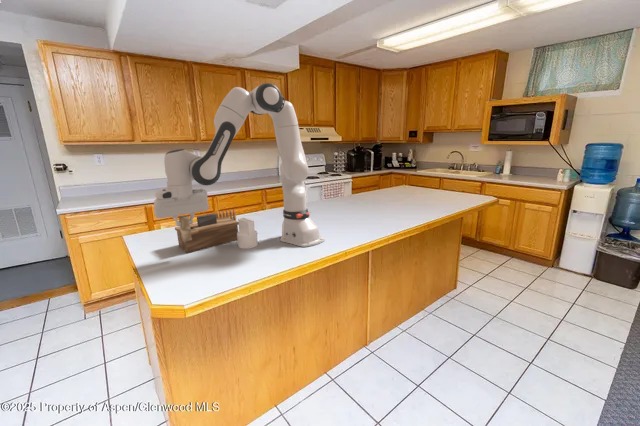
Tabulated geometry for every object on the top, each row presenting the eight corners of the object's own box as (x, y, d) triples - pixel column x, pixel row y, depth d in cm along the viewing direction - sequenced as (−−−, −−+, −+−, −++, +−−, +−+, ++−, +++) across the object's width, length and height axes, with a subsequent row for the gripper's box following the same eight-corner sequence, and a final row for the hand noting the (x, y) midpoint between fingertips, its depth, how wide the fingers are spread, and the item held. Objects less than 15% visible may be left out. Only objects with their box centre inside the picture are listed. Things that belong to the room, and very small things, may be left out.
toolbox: (238, 240, 143) (237, 224, 141) (187, 253, 127) (185, 235, 125) (227, 234, 152) (226, 219, 150) (179, 246, 136) (176, 229, 134)
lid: (238, 224, 141) (237, 212, 140) (184, 236, 125) (183, 223, 123) (226, 219, 150) (225, 208, 149) (175, 229, 134) (173, 217, 133)
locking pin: (189, 238, 123) (186, 215, 121) (191, 240, 121) (188, 216, 119) (181, 240, 121) (178, 216, 119) (184, 241, 119) (181, 218, 117)
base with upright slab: (261, 244, 136) (259, 219, 133) (244, 250, 130) (242, 224, 127) (251, 240, 143) (249, 216, 140) (234, 245, 136) (231, 220, 133)
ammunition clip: (217, 233, 153) (214, 211, 150) (216, 232, 155) (214, 210, 152) (237, 230, 158) (235, 209, 155) (237, 229, 160) (235, 208, 157)
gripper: (203, 187, 125) (207, 218, 129) (150, 193, 112) (155, 228, 115) (209, 189, 121) (212, 221, 124) (154, 195, 107) (159, 231, 111)
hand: (184, 224), depth 120 cm, fingers closed on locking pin, 3 cm apart
